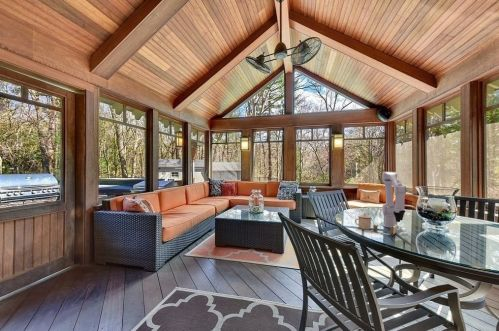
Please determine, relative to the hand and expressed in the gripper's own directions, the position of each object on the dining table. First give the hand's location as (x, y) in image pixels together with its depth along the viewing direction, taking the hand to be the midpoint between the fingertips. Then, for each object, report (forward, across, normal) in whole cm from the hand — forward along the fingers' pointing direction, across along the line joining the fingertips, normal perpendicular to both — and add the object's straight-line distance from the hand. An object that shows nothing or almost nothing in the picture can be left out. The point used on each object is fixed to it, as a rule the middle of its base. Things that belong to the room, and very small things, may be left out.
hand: (399, 221), depth 171 cm
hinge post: (+10, +8, -3) cm, 13 cm away
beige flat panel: (+9, +1, -3) cm, 9 cm away
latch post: (+9, +6, -14) cm, 18 cm away
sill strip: (+9, +6, -10) cm, 15 cm away
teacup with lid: (+10, +3, -24) cm, 26 cm away
